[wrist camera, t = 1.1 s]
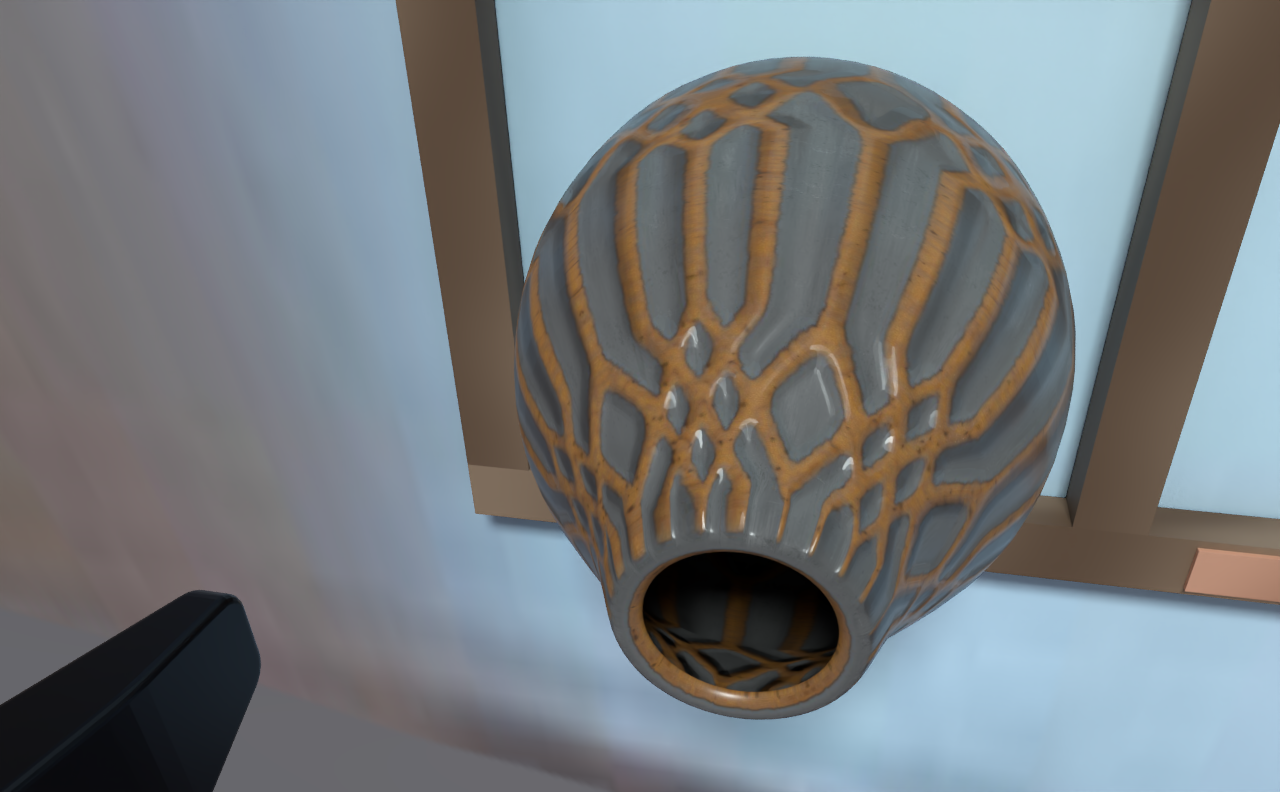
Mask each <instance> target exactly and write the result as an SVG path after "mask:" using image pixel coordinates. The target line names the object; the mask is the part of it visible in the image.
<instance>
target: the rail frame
mask: <svg viewBox="0 0 1280 792" xmlns="http://www.w3.org/2000/svg"><path fill="white" fill-rule="evenodd" d="M396 6H397V12H398V18H399V25H400V31H401V38H402V44H403V51H404V57H405V63H406V70H407V76H408V83H409V89H410V96H411V102H412V108H413V115H414V121H415V128H416V134H417V141H418V147H419V153H420V160H421V166H422V173H423V179H424V186H425V192H426V198H427V205H428V211H429V218H430V224H431V231H432V237H433V243H434V250H435V256H436V263H437V269H438V276H439V282H440V288H441V295H442V301H443V308H444V314H445V321H446V327H447V333H448V340H449V346H450V353H451V359H452V366H453V372H454V378H455V385H456V391H457V398H458V404H459V411H460V417H461V423H462V430H463V436H464V443H465V449H466V456H467V462H468V468H469V475H470V481H471V488H472V494H473V501H474V507H475V513H476V514H485V515H494V516H503V517H512V518H520V519H529V520H538V521H547V522H556V523H557V521H556V520H555V518H554V517H553V515H552V513H551V512H550V510H549V508H548V506H547V504H546V502H545V500H544V498H543V497H542V494H541V492H540V490H539V487H538V485H537V483H536V480H535V478H534V476H533V473H532V471H531V468H530V465H529V462H528V459H527V456H526V453H525V449H524V445H523V441H522V436H521V432H520V427H519V422H518V416H517V409H516V397H515V381H514V357H515V336H516V328H517V320H518V314H519V307H520V301H521V297H522V292H523V288H524V281H523V271H522V262H521V252H520V242H519V233H518V223H517V214H516V204H515V195H514V185H513V176H512V166H511V157H510V147H509V138H508V128H507V119H506V109H505V100H504V90H503V81H502V71H501V62H500V52H499V42H498V33H497V23H496V14H495V4H494V0H396ZM1279 124H1280V0H1192V3H1191V7H1190V11H1189V15H1188V19H1187V23H1186V27H1185V31H1184V35H1183V39H1182V43H1181V47H1180V51H1179V55H1178V59H1177V62H1176V66H1175V70H1174V74H1173V78H1172V82H1171V86H1170V90H1169V94H1168V98H1167V102H1166V106H1165V110H1164V114H1163V118H1162V122H1161V126H1160V129H1159V133H1158V137H1157V141H1156V145H1155V149H1154V153H1153V157H1152V161H1151V165H1150V169H1149V173H1148V177H1147V181H1146V185H1145V189H1144V193H1143V197H1142V200H1141V204H1140V208H1139V212H1138V216H1137V220H1136V224H1135V228H1134V232H1133V236H1132V240H1131V244H1130V248H1129V252H1128V256H1127V260H1126V264H1125V267H1124V271H1123V275H1122V279H1121V283H1120V287H1119V291H1118V295H1117V299H1116V303H1115V307H1114V311H1113V315H1112V319H1111V323H1110V327H1109V331H1108V334H1107V338H1106V342H1105V346H1104V350H1103V354H1102V358H1101V362H1100V366H1099V370H1098V374H1097V378H1096V382H1095V386H1094V390H1093V394H1092V398H1091V402H1090V405H1089V409H1088V413H1087V417H1086V421H1085V425H1084V429H1083V433H1082V437H1081V441H1080V445H1079V449H1078V453H1077V457H1076V461H1075V465H1074V469H1073V472H1072V476H1071V480H1070V484H1069V488H1068V492H1067V496H1066V498H1061V497H1051V496H1041V495H1040V496H1039V498H1038V499H1037V501H1036V503H1035V505H1034V507H1033V509H1032V511H1031V512H1030V514H1029V515H1028V517H1027V518H1026V520H1025V521H1024V523H1023V525H1022V526H1021V528H1020V529H1019V531H1018V532H1017V534H1016V535H1015V537H1014V538H1013V540H1012V541H1011V542H1010V543H1009V545H1008V546H1007V547H1006V548H1005V550H1004V551H1003V552H1002V553H1001V554H1000V555H999V556H998V557H997V558H996V559H995V561H994V562H993V563H992V564H991V565H990V566H989V567H988V568H987V569H986V570H985V571H987V572H995V573H1004V574H1013V575H1022V576H1031V577H1039V578H1048V579H1057V580H1066V581H1075V582H1083V583H1092V584H1101V585H1110V586H1119V587H1127V588H1136V589H1145V590H1154V591H1163V592H1171V593H1180V594H1189V595H1198V596H1207V597H1215V598H1224V599H1233V600H1242V601H1251V602H1259V603H1268V604H1277V605H1280V519H1272V518H1262V517H1252V516H1242V515H1232V514H1222V513H1212V512H1202V511H1192V510H1182V509H1172V508H1161V507H1158V503H1159V500H1160V497H1161V494H1162V491H1163V488H1164V485H1165V481H1166V478H1167V475H1168V472H1169V469H1170V466H1171V463H1172V459H1173V456H1174V453H1175V450H1176V447H1177V444H1178V441H1179V437H1180V434H1181V431H1182V428H1183V425H1184V422H1185V419H1186V416H1187V412H1188V409H1189V406H1190V403H1191V400H1192V397H1193V394H1194V390H1195V387H1196V384H1197V381H1198V378H1199V375H1200V372H1201V368H1202V365H1203V362H1204V359H1205V356H1206V353H1207V350H1208V346H1209V343H1210V340H1211V337H1212V334H1213V331H1214V328H1215V325H1216V321H1217V318H1218V315H1219V312H1220V309H1221V306H1222V303H1223V299H1224V296H1225V293H1226V290H1227V287H1228V284H1229V281H1230V277H1231V274H1232V271H1233V268H1234V265H1235V262H1236V259H1237V255H1238V252H1239V249H1240V246H1241V243H1242V240H1243V237H1244V234H1245V230H1246V227H1247V224H1248V221H1249V218H1250V215H1251V212H1252V208H1253V205H1254V202H1255V199H1256V196H1257V193H1258V190H1259V186H1260V183H1261V180H1262V177H1263V174H1264V171H1265V168H1266V164H1267V161H1268V158H1269V155H1270V152H1271V149H1272V146H1273V142H1274V139H1275V136H1276V133H1277V130H1278V127H1279Z"/></svg>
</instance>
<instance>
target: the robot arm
mask: <svg viewBox="0 0 1280 792" xmlns="http://www.w3.org/2000/svg"><path fill="white" fill-rule="evenodd" d="M260 668H261V661H260V654H259V650H258V648H257V645H256V642H255V639H254V636H253V633H252V630H251V627H250V624H249V621H248V618H247V615H246V612H245V609H244V607H243V604H242V602H241V601H240V600H239V599H238V598H237V597H236V596H234V595H231V594H227V593H219V592H212V591H205V590H195V591H191V592H188V593H186V594H184V595H182V596H180V597H178V598H177V599H175V600H174V601H172V602H170V603H169V604H167V605H165V606H164V607H162V608H160V609H159V610H157V611H155V612H154V613H152V614H150V615H149V616H147V617H145V618H144V619H142V620H140V621H139V622H137V623H135V624H134V625H132V626H130V627H129V628H127V629H125V630H124V631H122V632H120V633H119V634H117V635H116V636H114V637H112V638H111V639H109V640H107V641H106V642H104V643H102V644H101V645H99V646H97V647H96V648H94V649H92V650H91V651H89V652H87V653H86V654H84V655H82V656H81V657H79V658H77V659H76V660H74V661H73V662H71V663H69V664H68V665H66V666H65V667H62V668H61V669H59V670H58V671H56V672H54V673H53V674H51V675H49V676H48V677H46V678H44V679H43V680H41V681H39V682H38V683H36V684H34V685H33V686H31V687H29V688H28V689H26V690H24V691H23V692H21V693H20V694H18V695H16V696H15V697H13V698H11V699H10V700H8V701H6V702H4V703H3V704H1V705H0V792H213V790H214V787H215V785H216V782H217V780H218V777H219V775H220V773H221V770H222V768H223V765H224V763H225V761H226V758H227V756H228V753H229V751H230V749H231V746H232V744H233V741H234V739H235V736H236V734H237V731H238V729H239V727H240V724H241V722H242V720H243V717H244V715H245V712H246V710H247V707H248V705H249V703H250V700H251V698H252V695H253V693H254V691H255V688H256V686H257V683H258V679H259V675H260Z"/></svg>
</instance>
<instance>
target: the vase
mask: <svg viewBox="0 0 1280 792" xmlns="http://www.w3.org/2000/svg"><path fill="white" fill-rule="evenodd" d="M1074 373H1075V321H1074V310H1073V305H1072V300H1071V295H1070V290H1069V285H1068V280H1067V275H1066V271H1065V267H1064V264H1063V260H1062V257H1061V254H1060V251H1059V248H1058V246H1057V243H1056V240H1055V238H1054V235H1053V232H1052V230H1051V227H1050V225H1049V222H1048V220H1047V217H1046V215H1045V213H1044V211H1043V210H1042V208H1041V206H1040V204H1039V202H1038V200H1037V198H1036V196H1035V194H1034V193H1033V191H1032V189H1031V187H1030V186H1029V184H1028V182H1027V181H1026V179H1025V178H1024V176H1023V175H1022V173H1021V171H1020V170H1019V168H1018V167H1017V165H1016V164H1015V163H1014V162H1013V160H1012V159H1011V158H1010V156H1009V155H1008V154H1007V152H1006V151H1005V150H1004V149H1003V148H1002V147H1001V146H1000V145H999V143H998V142H997V141H996V140H995V139H994V138H993V137H992V136H991V135H990V134H989V133H988V132H987V131H986V130H985V129H983V128H982V127H981V126H980V125H979V124H978V123H977V122H976V121H975V120H973V119H972V118H971V117H969V116H968V115H967V114H965V113H964V112H963V111H961V110H960V109H959V108H957V107H956V106H955V105H953V104H952V103H951V102H949V101H948V100H946V99H944V98H943V97H941V96H940V95H938V94H937V93H935V92H933V91H932V90H930V89H928V88H926V87H924V86H922V85H920V84H918V83H916V82H915V81H912V80H910V79H907V78H905V77H903V76H900V75H898V74H896V73H893V72H890V71H887V70H883V69H880V68H877V67H874V66H870V65H866V64H862V63H858V62H853V61H846V60H840V59H833V58H821V57H786V58H773V59H766V60H760V61H754V62H749V63H745V64H741V65H736V66H732V67H729V68H726V69H723V70H720V71H717V72H714V73H711V74H709V75H706V76H704V77H701V78H699V79H697V80H694V81H692V82H689V83H687V84H685V85H683V86H681V87H679V88H677V89H675V90H673V91H671V92H669V93H667V94H665V95H664V96H662V97H661V98H659V99H658V100H656V101H654V102H653V103H651V104H650V105H648V106H647V107H645V108H644V109H643V110H642V111H640V112H639V113H638V114H636V115H635V116H634V117H632V118H631V119H630V120H629V121H628V122H627V123H626V124H625V125H623V126H622V127H621V128H620V129H619V130H618V131H617V132H616V133H615V134H614V135H613V136H612V137H611V138H609V139H608V140H607V141H606V142H605V143H604V145H603V146H602V147H601V148H600V149H599V150H598V151H597V152H596V153H595V154H594V155H593V156H592V158H591V159H590V160H589V161H588V163H587V164H586V165H585V167H584V168H583V169H582V170H581V172H580V173H579V174H578V176H577V177H576V178H575V179H574V181H573V182H572V183H571V185H570V186H569V188H568V189H567V191H566V192H565V194H564V195H563V197H562V198H561V200H560V201H559V203H558V205H557V207H556V209H555V210H554V212H553V214H552V216H551V218H550V219H549V221H548V223H547V225H546V227H545V229H544V231H543V233H542V235H541V237H540V240H539V242H538V244H537V247H536V249H535V252H534V255H533V258H532V261H531V264H530V268H529V271H528V274H527V277H526V280H525V283H524V288H523V292H522V297H521V301H520V307H519V314H518V320H517V328H516V336H515V357H514V381H515V397H516V409H517V416H518V422H519V427H520V432H521V436H522V441H523V445H524V449H525V453H526V456H527V459H528V462H529V465H530V468H531V471H532V473H533V476H534V478H535V480H536V483H537V485H538V487H539V490H540V492H541V494H542V497H543V498H544V500H545V502H546V504H547V506H548V508H549V510H550V512H551V513H552V515H553V517H554V518H555V520H556V521H557V523H558V525H559V526H560V528H561V529H562V531H563V532H564V534H565V535H566V537H567V538H568V540H569V541H570V542H571V544H572V545H573V547H574V548H575V549H576V551H577V552H578V553H579V555H580V556H581V558H582V559H583V560H584V562H585V563H586V564H587V566H588V567H589V568H590V570H591V571H592V572H593V574H594V575H595V576H596V577H597V578H598V580H599V581H600V582H601V585H602V589H603V594H604V598H605V603H606V607H607V612H608V616H609V620H610V624H611V627H612V630H613V633H614V635H615V638H616V640H617V642H618V644H619V646H620V648H621V649H622V651H623V653H624V654H625V656H626V657H627V658H628V660H629V661H630V662H631V663H632V665H633V666H634V667H635V668H636V669H637V670H638V671H639V672H640V673H641V674H642V675H643V676H644V677H645V678H646V679H647V680H649V681H650V682H651V683H652V684H654V685H655V686H656V687H658V688H659V689H661V690H662V691H664V692H665V693H667V694H669V695H670V696H672V697H674V698H676V699H678V700H680V701H682V702H684V703H686V704H688V705H691V706H693V707H696V708H699V709H702V710H705V711H708V712H711V713H715V714H719V715H723V716H729V717H735V718H743V719H780V718H787V717H793V716H797V715H801V714H805V713H808V712H811V711H814V710H817V709H819V708H821V707H824V706H826V705H828V704H829V703H831V702H833V701H835V700H836V699H838V698H839V697H841V696H842V695H843V694H845V693H846V692H847V691H848V690H849V689H851V688H852V687H853V686H854V685H855V683H856V682H857V681H858V680H859V679H860V678H861V677H862V675H863V674H864V673H865V671H866V670H867V668H868V667H869V666H870V664H871V662H872V661H873V659H874V658H875V656H876V655H877V653H878V652H879V650H880V648H881V647H882V645H883V644H884V643H885V641H886V640H887V638H889V637H891V636H893V635H895V634H896V633H898V632H900V631H901V630H903V629H905V628H907V627H908V626H910V625H911V624H913V623H915V622H916V621H918V620H920V619H921V618H923V617H925V616H926V615H928V614H929V613H931V612H933V611H934V610H936V609H937V608H939V607H940V606H941V605H943V604H944V603H946V602H947V601H948V600H950V599H951V598H953V597H954V596H955V595H957V594H958V593H959V592H961V591H962V590H964V589H965V588H966V587H968V586H969V585H970V584H971V583H972V582H973V581H974V580H975V579H977V578H978V577H979V576H980V575H981V574H982V573H983V572H984V571H985V570H986V569H987V568H988V567H989V566H990V565H991V564H992V563H993V562H994V561H995V559H996V558H997V557H998V556H999V555H1000V554H1001V553H1002V552H1003V551H1004V550H1005V548H1006V547H1007V546H1008V545H1009V543H1010V542H1011V541H1012V540H1013V538H1014V537H1015V535H1016V534H1017V532H1018V531H1019V529H1020V528H1021V526H1022V525H1023V523H1024V521H1025V520H1026V518H1027V517H1028V515H1029V514H1030V512H1031V511H1032V509H1033V507H1034V505H1035V503H1036V501H1037V499H1038V498H1039V496H1040V494H1041V491H1042V489H1043V487H1044V485H1045V482H1046V480H1047V478H1048V475H1049V473H1050V471H1051V468H1052V466H1053V464H1054V461H1055V458H1056V455H1057V451H1058V448H1059V445H1060V442H1061V439H1062V435H1063V432H1064V429H1065V425H1066V421H1067V416H1068V411H1069V406H1070V401H1071V396H1072V390H1073V382H1074Z"/></svg>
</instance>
